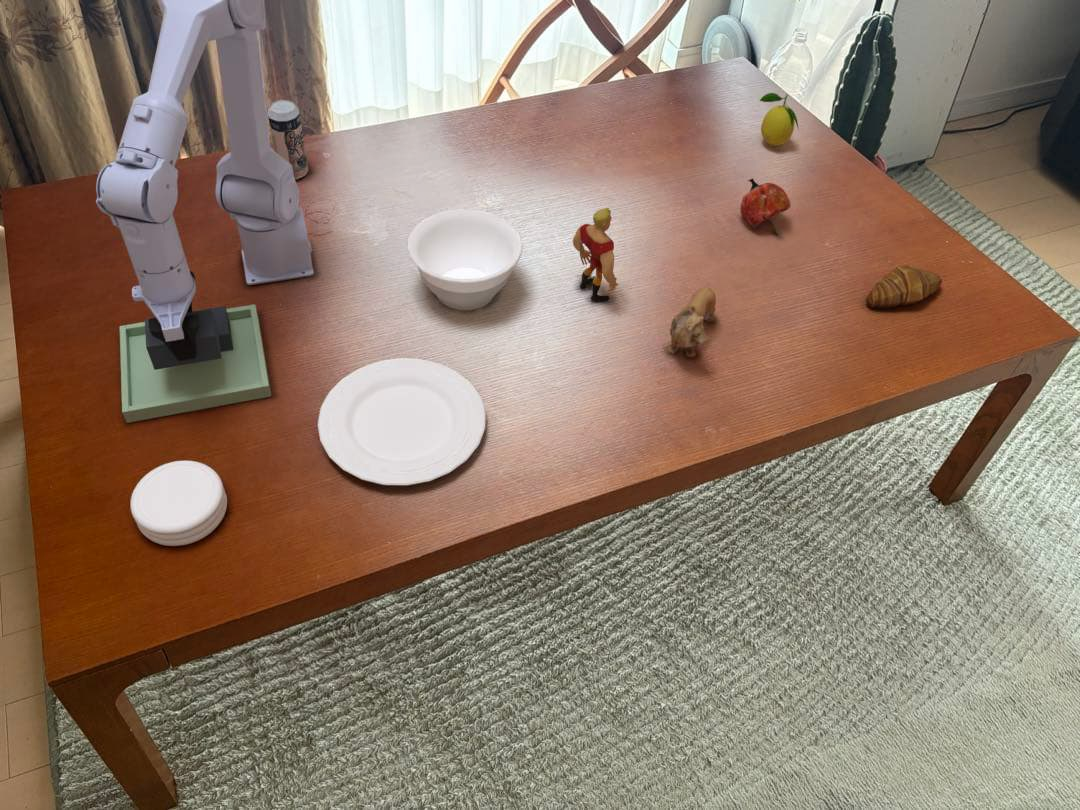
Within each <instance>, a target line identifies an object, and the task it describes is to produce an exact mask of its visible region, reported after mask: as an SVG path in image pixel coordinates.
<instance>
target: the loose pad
mask: <svg viewBox="0 0 1080 810" xmlns="http://www.w3.org/2000/svg"><path fill="white" fill-rule="evenodd" d="M207 309H208V310H204V309H200V310H201V311H198V310H194V311H195V312H189V313H186V315H185V316H189V315H195V314H199V319H200V325H199V329H198V331H197V334H196V340H195V341H196V358H195V359H189V360H183V361H179V360H178V359H177V358H176V357H175V356H174V354H173V353H172V352H171V350H170V349H169V348H168V346H167V345H166V344H165V343H164V342H162V341H161V340H159V339H158V338H156V337H154V336H153V335H152V334H151V332H150V330H149V323H148V318H146V319H144V322H145V335H146V348H147V351H148V354H149V356H150V359H151V362H152V364H153V367H154V370H157V369H163V368H169V367H174V366H180V365H186V364H192V363H198V362H203V361H209V360H215V359H221V350H220V342H219V334H218V329H217V326H216V322H215V319H214V315H213V312H212V309H210V308H207Z"/></svg>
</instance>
